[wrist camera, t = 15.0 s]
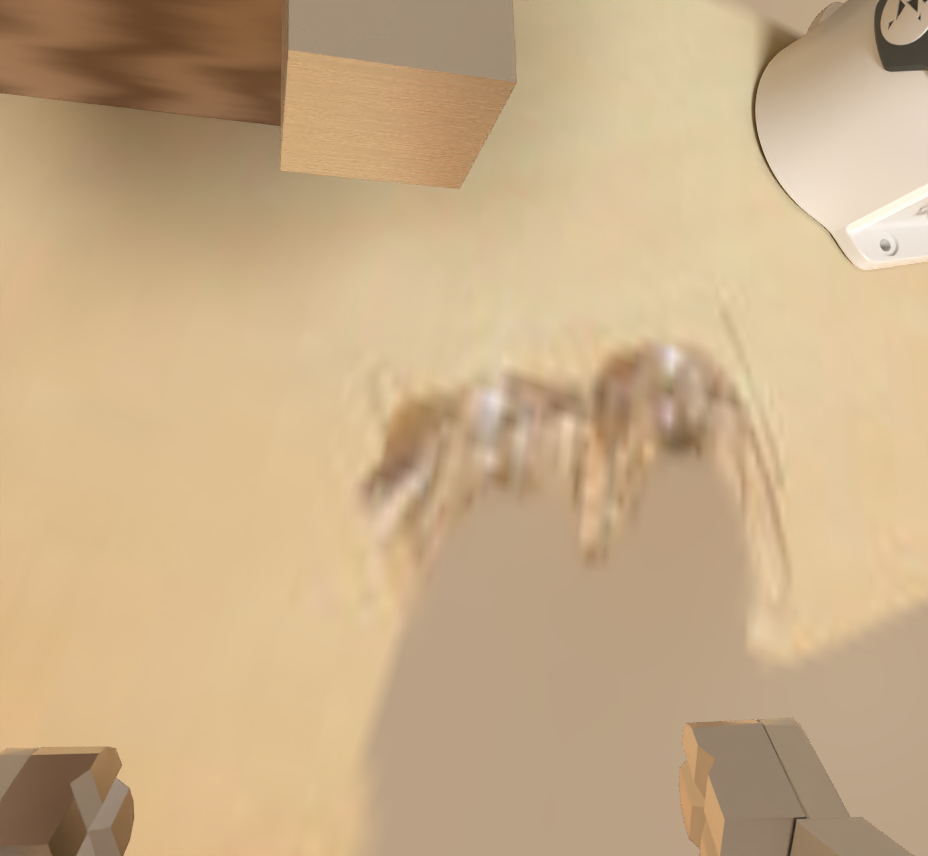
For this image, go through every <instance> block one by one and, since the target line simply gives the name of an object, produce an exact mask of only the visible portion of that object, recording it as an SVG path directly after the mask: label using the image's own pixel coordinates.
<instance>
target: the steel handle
mask: <svg viewBox="0 0 928 856" xmlns="http://www.w3.org/2000/svg"><path fill="white" fill-rule="evenodd" d="M516 83H517V80H516V60H515V40H514V20H513V0H282V56H281V153H280V171H288V172H298V173H308V174H318V175H328V176H337V177H347V178H357V179H367V180H377V181H386V182H396V183H406V184H416V185H426V186H435V187H445V188H455V189H460V187H461V185H462V183H463V181H464V179H465V177H466V176H467V174H468V172H469V170H470V168H471V166H472V164H473V163H474V161H475V159H476V157H477V155H478V153H479V151H480V150H481V148H482V146H483V144H484V142H485V140H486V139H487V137H488V135H489V133H490V131H491V129H492V127H493V126H494V124H495V122H496V120H497V118H498V116H499V114H500V113H501V111H502V109H503V107H504V105H505V103H506V101H507V100H508V98H509V96H510V94H511V92H512V90H513V88H514V87H515V85H516Z"/></svg>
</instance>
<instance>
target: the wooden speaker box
mask: <svg viewBox="0 0 928 856" xmlns="http://www.w3.org/2000/svg"><path fill="white" fill-rule="evenodd" d="M281 56H282V0H0V93H7V94H15V95H24V96H32V97H41V98H49V99H58V100H66V101H75V102H83V103H92V104H100V105H109V106H117V107H126V108H134V109H143V110H151V111H160V112H168V113H177V114H185V115H194V116H202V117H211V118H219V119H228V120H237V121H245V122H254V123H262V124H271V125H279V126H281Z"/></svg>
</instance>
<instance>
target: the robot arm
mask: <svg viewBox="0 0 928 856" xmlns="http://www.w3.org/2000/svg"><path fill="white" fill-rule="evenodd" d="M755 115H756V125H757V131H758V136H759V140H760V143H761V146H762V149H763V152H764V155H765V157H766V160H767V162H768V164H769V166H770V168H771V170H772V171H773V173H774V175H775V177H776V178H777V180H778V181H779V183H780V184H781V186H782V187H783V188H784V190H785V191H786V192H787V193H788V195H789V196H790V197H791V198H792V199H793V200H794V201H795V202H796V203H797V204H798V205H799V206H800V207H801V208H802V209H803V210H804V211H805V212H807V213H808V214H809V215H810V216H812V217H813V218H814V219H815V220H817V221H818V222H819V223H821V224H822V225H823V226H824V227H825V228H826V229H827V230H828V231H829V232H830V233H831V234H832V235H833V237H834V238H835V240H836V242H837V243H838V245H839V246H840V248H841V249H842V251H843V252H844V253H845V255H846V256H847V257H848V259H849V260H850V261H851V262H852V263H853V264H854V265H855V266H856V267H858V268H860V269H863V270H871V269H878V268H885V267H892V266H899V265H906V264H913V263H920V262H927V261H928V0H848V1H846V2H845V3H844V4H843V3H839V2H835V3H832V4H831V5H829V6H828V7H826V8H825V9H824V10H823V11H821V13H819V14H818V15H817V16H816V18H815V20H814V21H813V22H812V25H811V26H810V28H809V30H808V32H807V33H806V35H804V36H803V37H801V38H800V39H798V40H796V41H795V42H793V43H792V44H790V45H789V46H787V47H785V48H784V49H783V50H781V51H780V52H779V53H778V54H777V55H776V56H775V57H774V58H773V59H772V60H771V61H770V63H769V64H768V65H767V67H766V69H765V71H764V73H763V74H762V77H761V79H760V82H759V86H758V90H757V95H756V106H755ZM682 746H683V749H684V752H685V755H686V758H687V760H686V761H685V762H684V763H683V764H682V765H681V767H680V774H679V775H680V776H679V791H680V802H681V809H682V813H683V819H684V823H685V826H686V830H687V833H688V837H689V839H690V840H691V841H692V842H693V843H694V844H695V845H696V846H697V847H699V849H700V856H914V855H913V854H911V853H910V852H909V851H907V850H906V849H904V848H903V847H902V846H900V845H899V844H898V843H896V842H895V841H894V840H892V839H891V838H890V837H888V836H887V835H885V834H884V833H883V832H881V831H880V830H879V829H877V828H876V827H875V826H873V825H872V824H871V823H869V822H868V821H867V820H865V819H864V818H862V817H850V815H849V813H848V812H847V810H846V808H845V806H844V804H843V802H842V800H841V798H840V797H839V795H838V793H837V791H836V789H835V788H834V786H833V784H832V782H831V780H830V778H829V776H828V774H827V773H826V771H825V769H824V767H823V765H822V763H821V761H820V760H819V758H818V756H817V754H816V752H815V751H814V748H813V747H812V745H811V744H810V741H809V739H808V737H807V736H806V734H805V732H804V730H803V728H802V726H801V724H800V723H799V722H798V721H797V720H795V719H794V718H777V719H758V720H734V721H714V722H696V723H686V724H685V726H684V729H683V736H682ZM121 766H122V764H121V761H120V758H119V756H118V753H117V751H116V748H112V747H41V748H7V749H6V750H4V751H3V752H1V753H0V856H123V855H124V852H125V850H126V848H127V845H128V843H129V841H130V837H131V832H132V826H133V821H134V804H133V798H132V795H131V791H130V788H129V787H128V786H126V785H125V784H124V783H122V782H121V781H120V780H119V779H117V778H116V776H117V774H118V772H119V770H120V768H121Z"/></svg>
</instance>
